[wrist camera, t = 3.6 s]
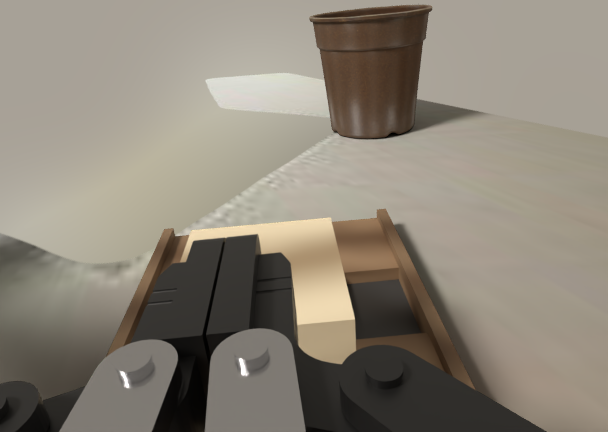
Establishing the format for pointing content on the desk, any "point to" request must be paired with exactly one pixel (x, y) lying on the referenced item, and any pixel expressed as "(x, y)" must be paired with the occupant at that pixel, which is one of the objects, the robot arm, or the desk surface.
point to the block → (306, 281)
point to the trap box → (362, 290)
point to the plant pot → (372, 67)
